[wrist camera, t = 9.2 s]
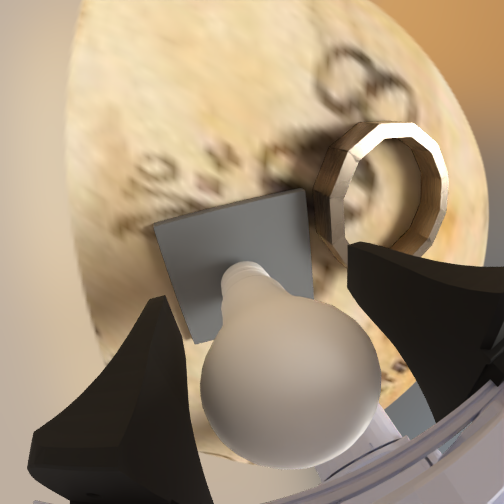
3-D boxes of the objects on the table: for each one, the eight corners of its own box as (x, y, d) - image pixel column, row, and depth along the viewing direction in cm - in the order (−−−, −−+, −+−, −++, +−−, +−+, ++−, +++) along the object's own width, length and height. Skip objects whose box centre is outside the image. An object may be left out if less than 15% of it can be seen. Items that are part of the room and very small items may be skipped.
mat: (310, 304, 19) (314, 309, 18) (193, 338, 18) (195, 344, 17) (300, 188, 15) (305, 190, 15) (154, 223, 14) (153, 227, 14)
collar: (424, 245, 20) (440, 255, 18) (318, 280, 18) (333, 297, 17) (426, 120, 15) (448, 123, 14) (305, 127, 14) (322, 128, 12)
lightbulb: (181, 317, 16) (209, 504, 7) (192, 216, 14) (238, 415, 4) (278, 319, 18) (361, 470, 8) (304, 229, 16) (450, 367, 6)
